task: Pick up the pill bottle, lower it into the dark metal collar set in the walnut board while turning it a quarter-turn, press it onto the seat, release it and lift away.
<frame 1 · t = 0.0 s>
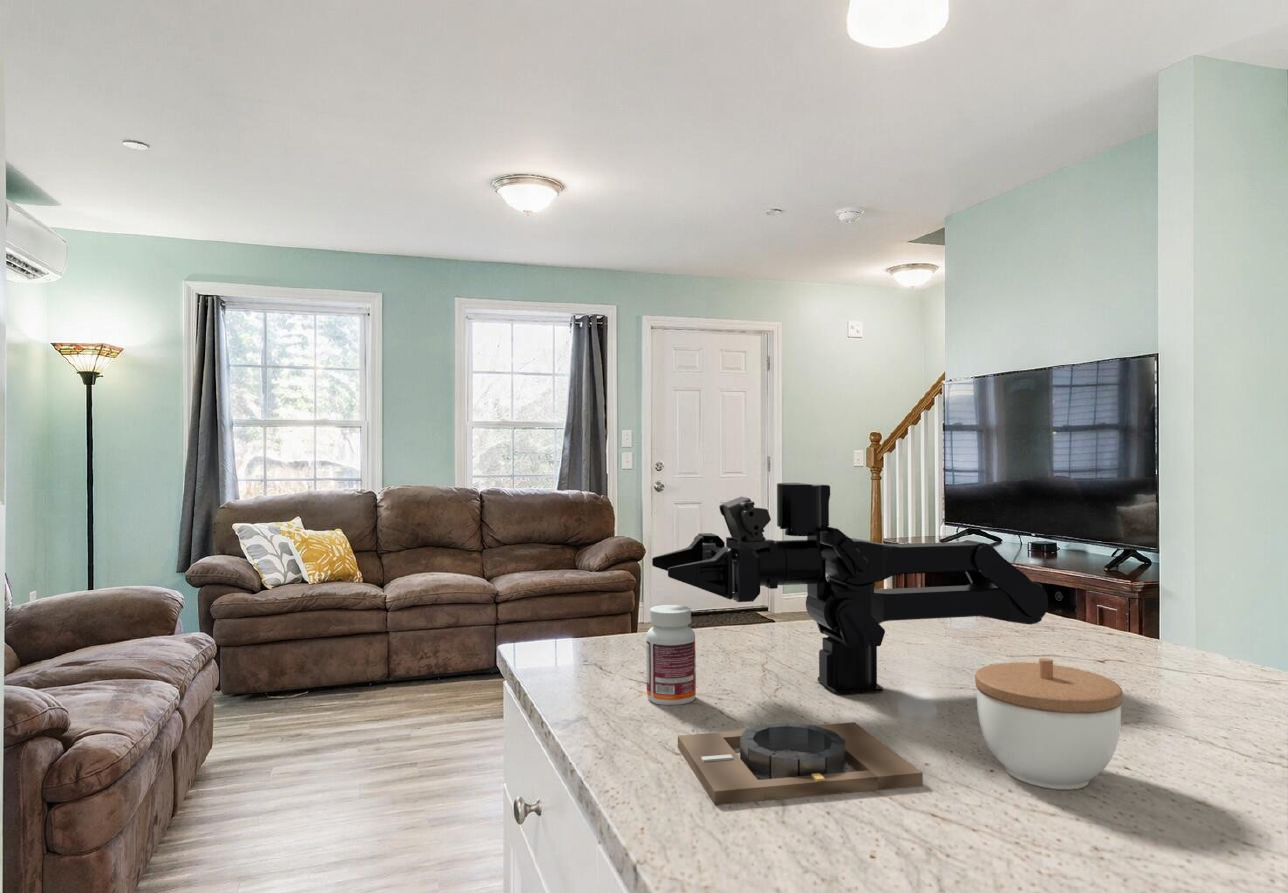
hand: (659, 566, 101), 17 cm above the countertop, tool horizontal, fingers open, 9 cm apart
pill bottle: (671, 700, 101), on the countertop
socket board: (792, 765, 80), on the countertop
lidded bowl: (1046, 776, 77), on the countertop
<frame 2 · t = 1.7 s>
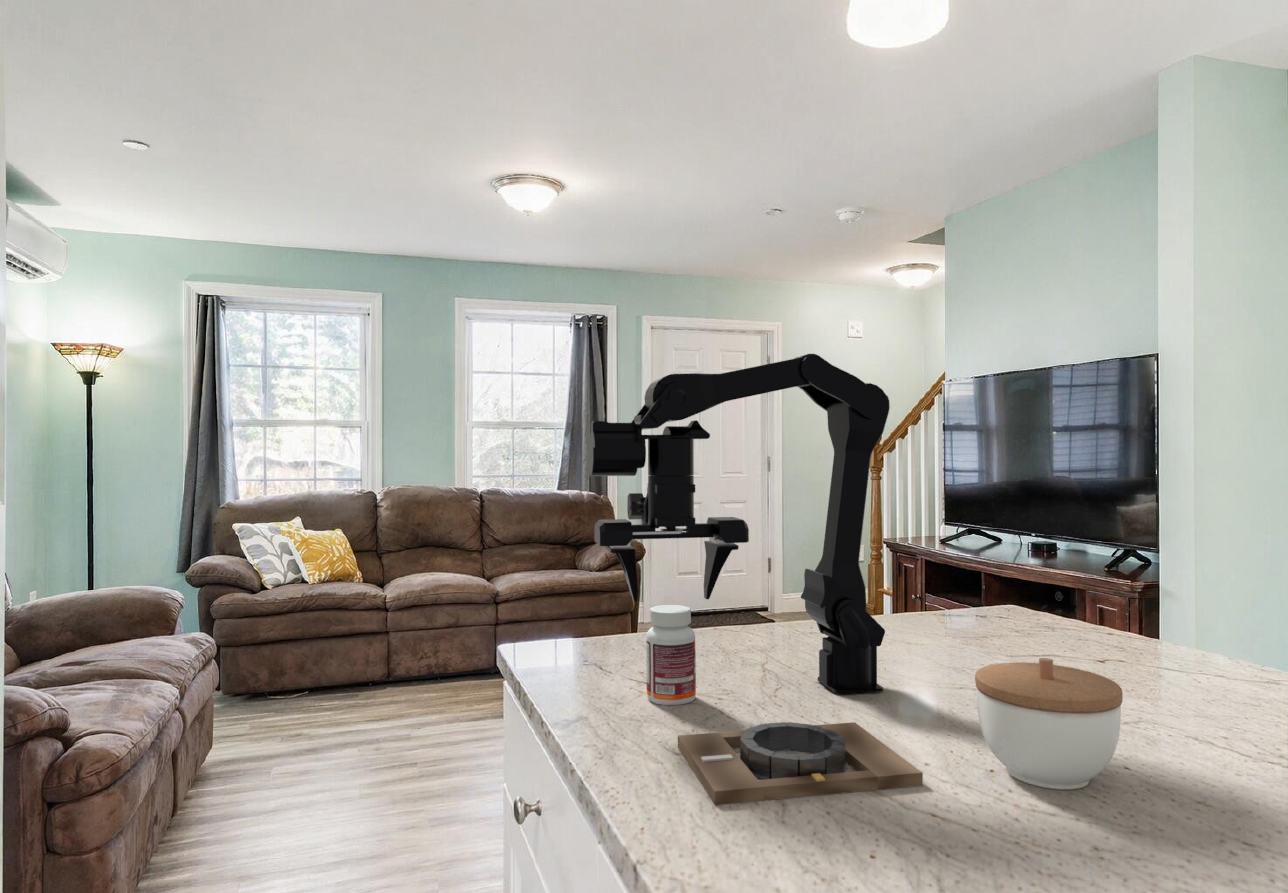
hand: (671, 600, 101), 12 cm above the countertop, tool pointing down, fingers open, 9 cm apart
nothing on the countertop moved.
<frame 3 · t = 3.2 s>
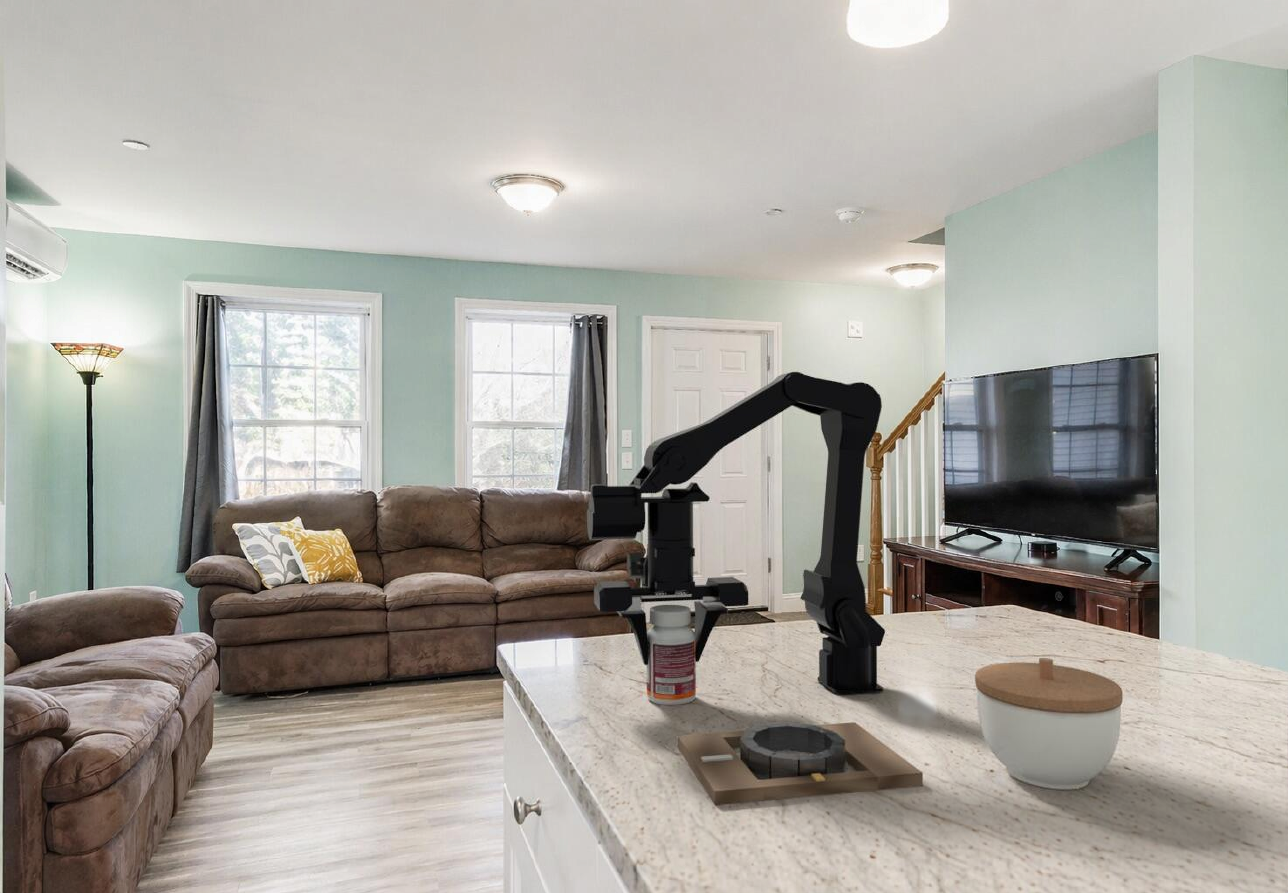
hand: (671, 662, 101), 5 cm above the countertop, tool pointing down, fingers closed on pill bottle, 6 cm apart
pill bottle: (671, 700, 101), on the countertop, touching gripper
everything else where it was.
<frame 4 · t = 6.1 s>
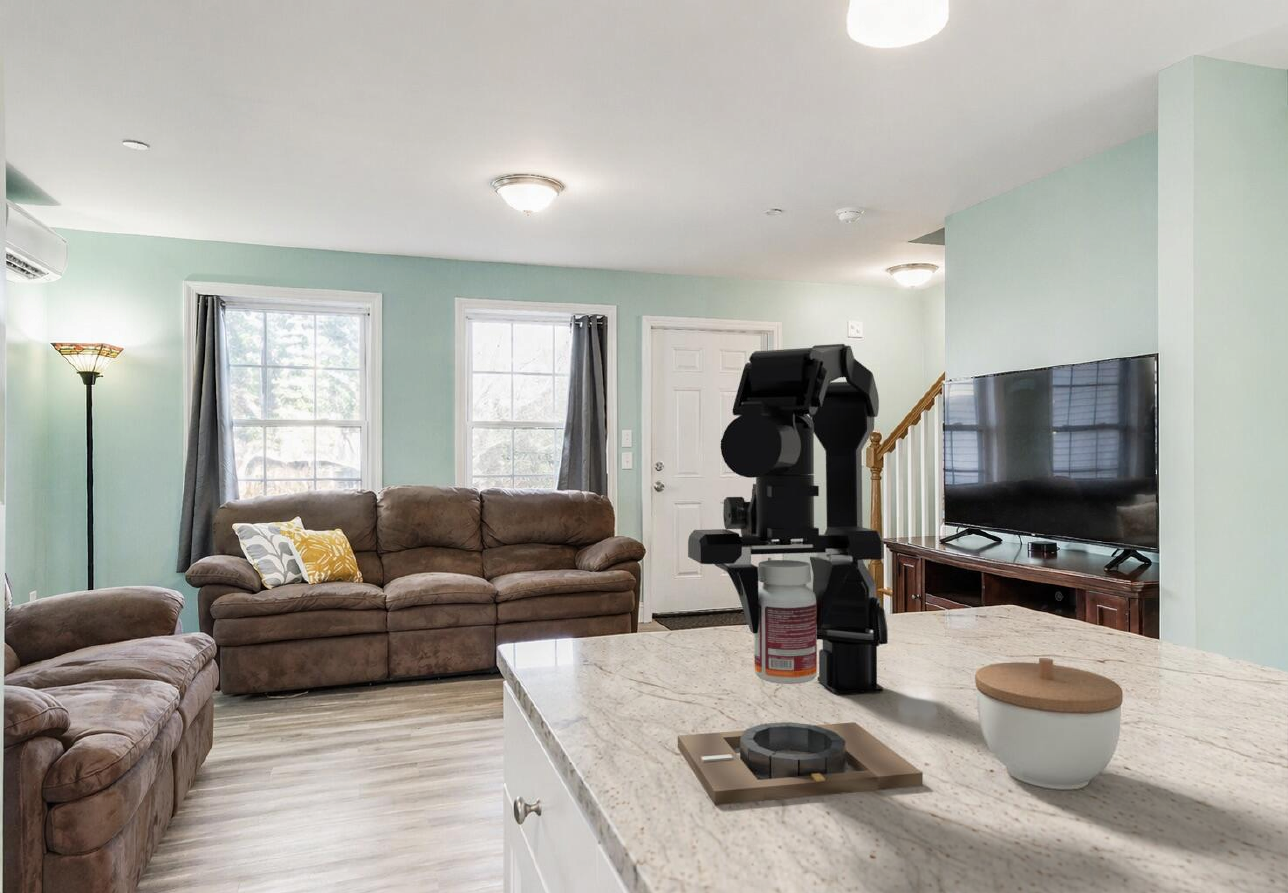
hand: (785, 631, 80), 13 cm above the countertop, tool pointing down, fingers closed on pill bottle, 6 cm apart
pill bottle: (785, 678, 80), point 8 cm above the countertop, touching gripper
everything else where it was.
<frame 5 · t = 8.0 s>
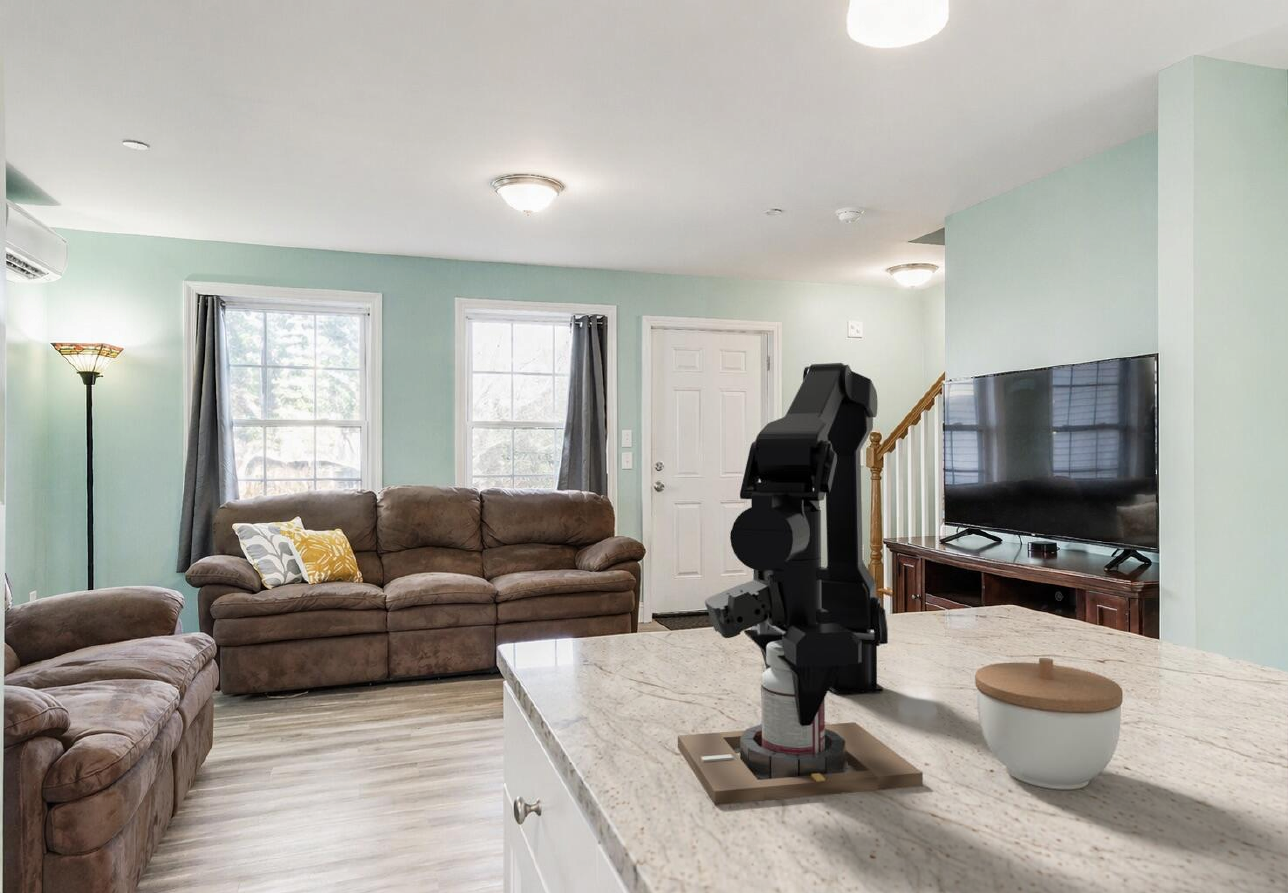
hand: (792, 713, 80), 5 cm above the countertop, tool pointing down, fingers closed on pill bottle, 6 cm apart
pill bottle: (793, 761, 80), resting in socket board, touching gripper
everything else where it was.
when the fingers open (5 cm above the countertop, at t = 9.4 s): pill bottle stays where it is, resting in socket board.
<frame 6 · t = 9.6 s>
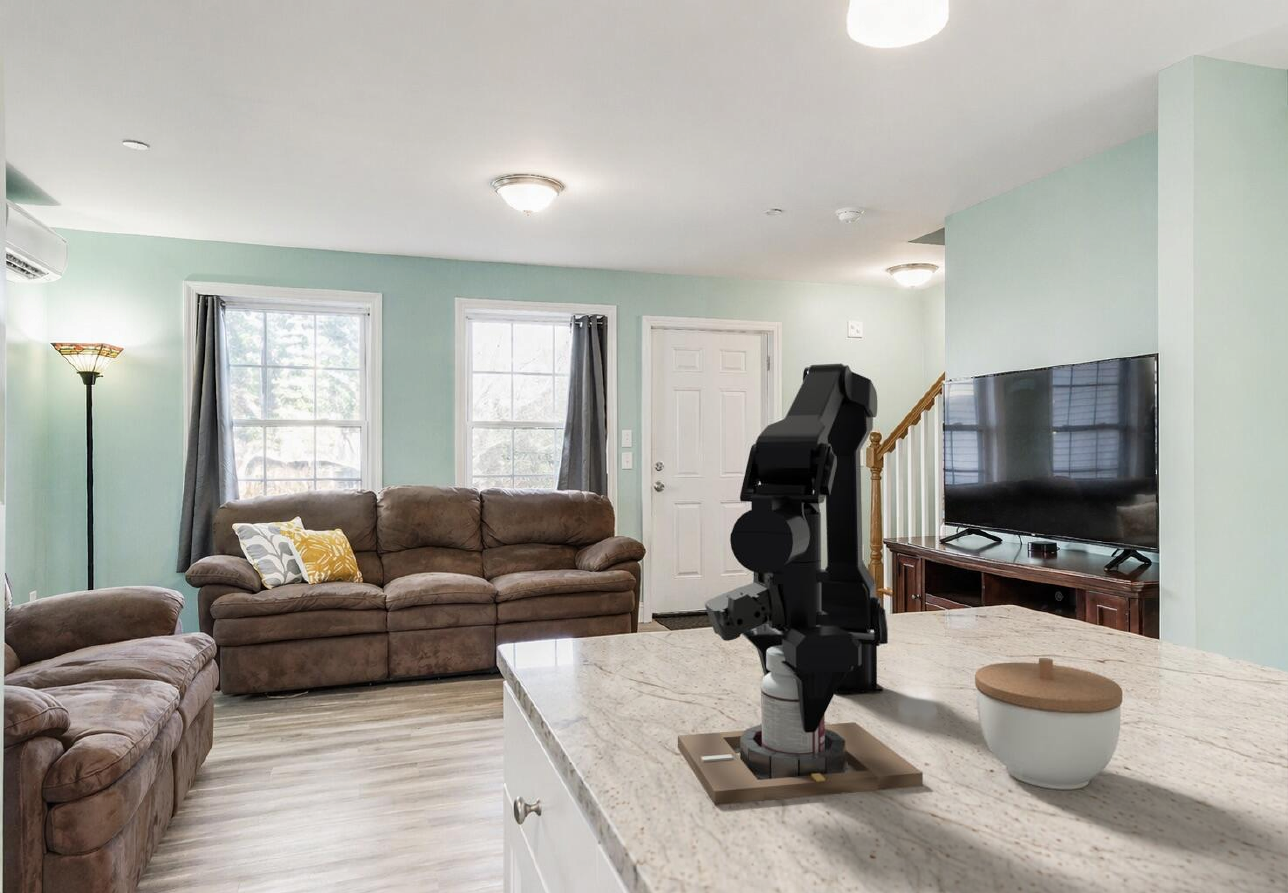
hand: (792, 716, 80), 5 cm above the countertop, tool pointing down, fingers open, 8 cm apart
pill bottle: (793, 767, 80), resting in socket board
everything else where it was.
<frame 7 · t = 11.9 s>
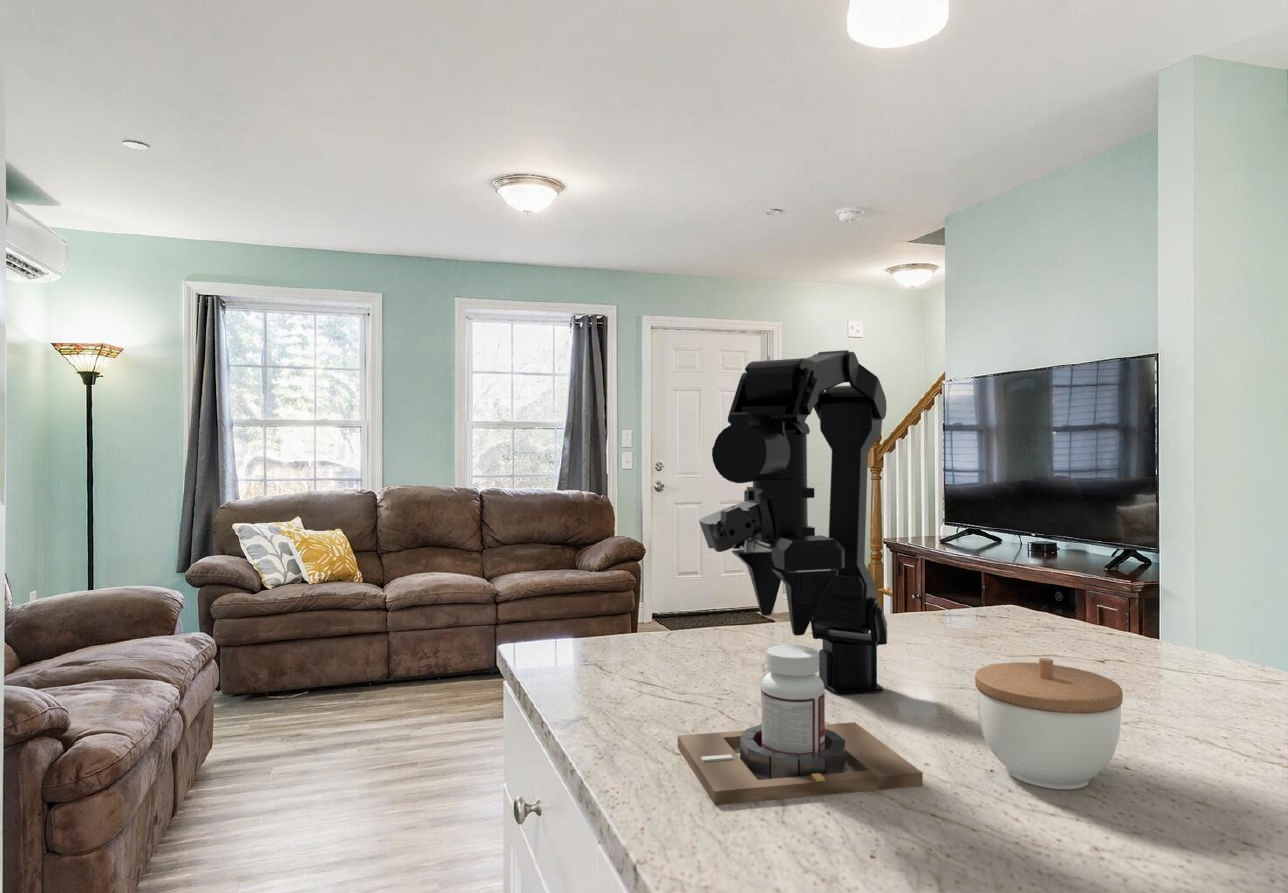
hand: (781, 624, 86), 13 cm above the countertop, tool pointing down, fingers open, 9 cm apart
nothing on the countertop moved.
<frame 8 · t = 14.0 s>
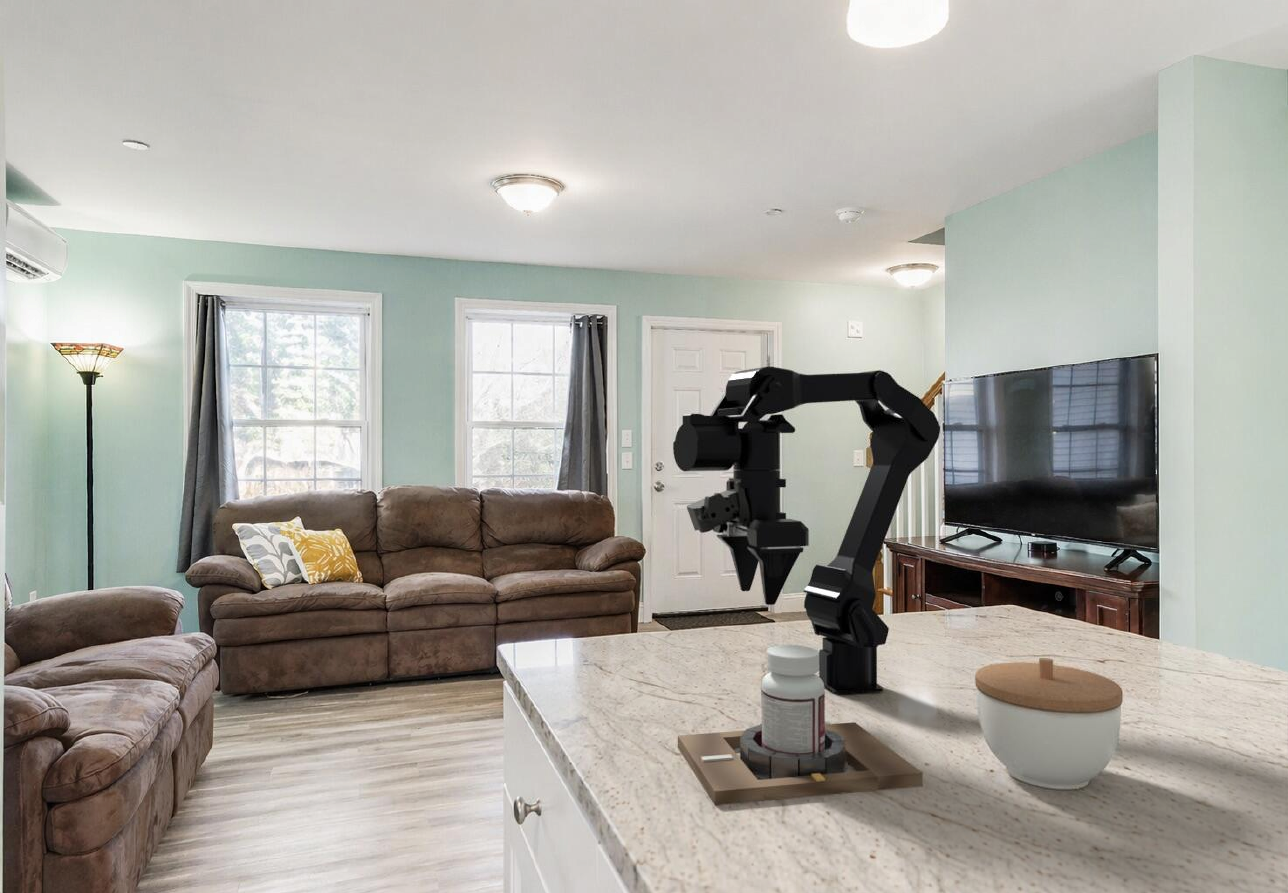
hand: (757, 597, 99), 13 cm above the countertop, tool pointing down, fingers open, 9 cm apart
nothing on the countertop moved.
at the end: pill bottle 0.1 cm off-centre on the socket board, point 0.0 cm above the socket board's base; pill bottle tilted 0°; the gripper is holding nothing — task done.
